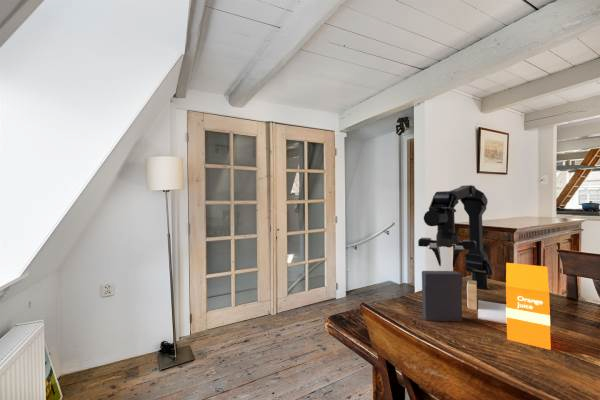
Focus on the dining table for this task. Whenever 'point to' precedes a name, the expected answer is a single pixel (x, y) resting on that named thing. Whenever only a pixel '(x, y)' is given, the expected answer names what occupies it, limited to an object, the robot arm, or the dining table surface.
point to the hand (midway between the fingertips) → (446, 266)
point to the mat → (492, 311)
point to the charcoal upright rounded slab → (442, 295)
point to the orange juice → (528, 304)
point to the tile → (472, 294)
